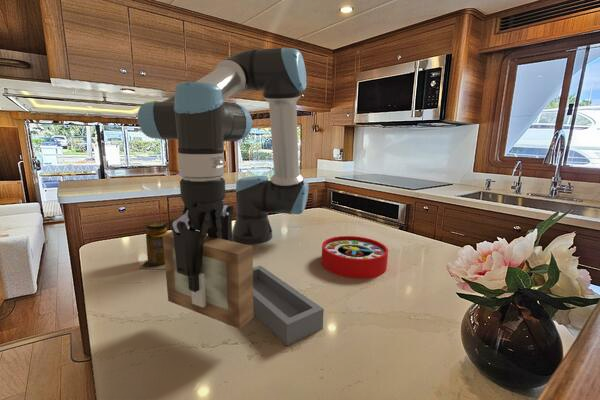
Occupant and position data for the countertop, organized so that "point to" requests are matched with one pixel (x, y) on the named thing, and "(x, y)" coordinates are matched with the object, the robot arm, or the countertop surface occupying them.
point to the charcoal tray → (284, 308)
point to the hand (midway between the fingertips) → (208, 298)
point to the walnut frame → (216, 280)
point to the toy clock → (354, 257)
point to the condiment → (155, 246)
